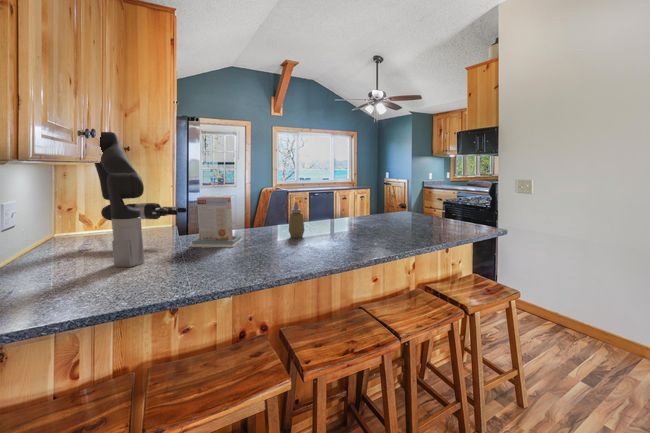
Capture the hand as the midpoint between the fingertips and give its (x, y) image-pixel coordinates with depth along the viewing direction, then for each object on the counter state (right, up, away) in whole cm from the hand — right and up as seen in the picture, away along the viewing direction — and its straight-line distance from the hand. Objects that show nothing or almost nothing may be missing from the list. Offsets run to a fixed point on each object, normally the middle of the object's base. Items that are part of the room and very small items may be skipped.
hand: (181, 211), depth 155 cm
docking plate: (+16, -15, +2) cm, 22 cm away
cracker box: (+15, -14, +2) cm, 21 cm away
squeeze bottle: (+52, -13, +16) cm, 56 cm away
